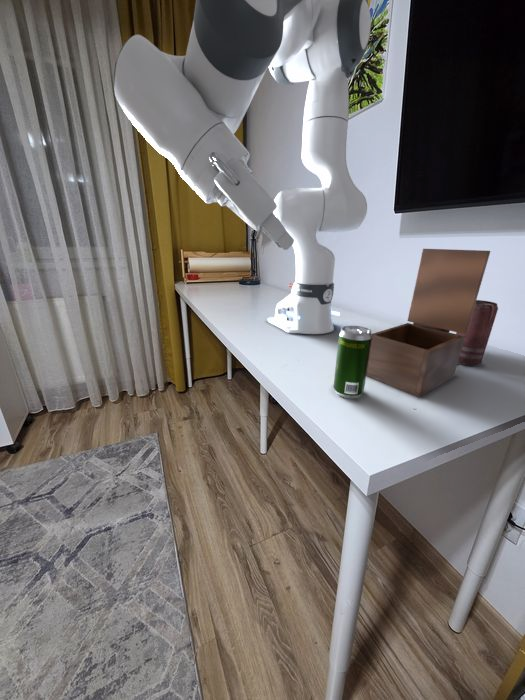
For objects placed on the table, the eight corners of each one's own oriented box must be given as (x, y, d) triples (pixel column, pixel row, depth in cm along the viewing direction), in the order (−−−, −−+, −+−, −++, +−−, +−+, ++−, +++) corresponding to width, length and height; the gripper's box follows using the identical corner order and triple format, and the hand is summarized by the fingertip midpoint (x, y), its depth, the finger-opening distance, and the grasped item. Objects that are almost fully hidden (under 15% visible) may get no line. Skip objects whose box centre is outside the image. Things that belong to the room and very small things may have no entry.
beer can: (368, 399, 51) (378, 334, 47) (338, 399, 51) (345, 334, 46) (357, 384, 56) (365, 325, 52) (329, 385, 56) (335, 325, 51)
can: (467, 368, 64) (485, 305, 59) (443, 357, 69) (458, 299, 64) (488, 365, 65) (508, 304, 60) (463, 355, 71) (479, 298, 66)
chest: (419, 397, 52) (430, 351, 48) (363, 374, 60) (369, 334, 57) (454, 376, 60) (465, 336, 57) (400, 358, 68) (407, 322, 65)
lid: (489, 250, 51) (498, 251, 54) (422, 248, 60) (433, 249, 63) (465, 334, 56) (474, 330, 59) (407, 321, 65) (418, 318, 68)
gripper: (227, 123, 30) (315, 227, 33) (239, 168, 49) (294, 231, 53) (188, 172, 31) (275, 266, 35) (214, 197, 50) (269, 256, 54)
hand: (286, 245), depth 44 cm, fingers open, 8 cm apart
